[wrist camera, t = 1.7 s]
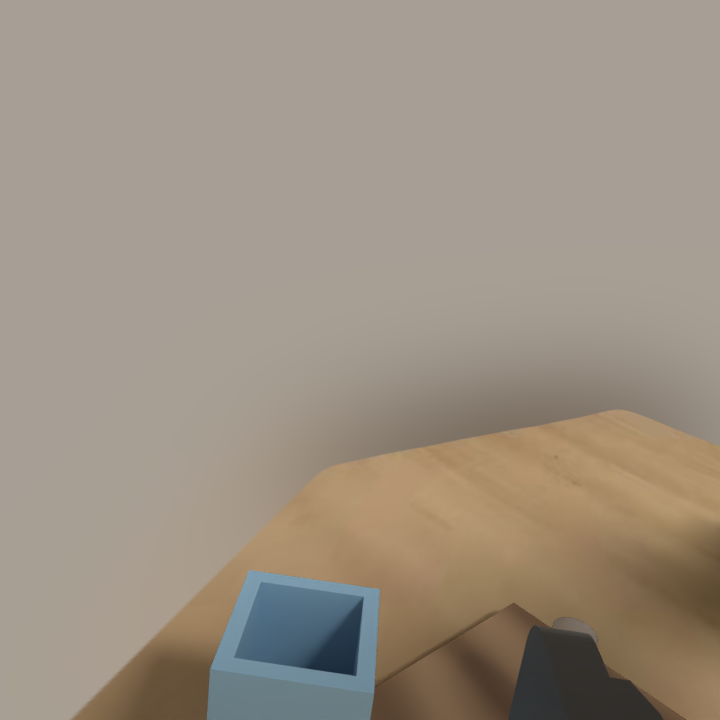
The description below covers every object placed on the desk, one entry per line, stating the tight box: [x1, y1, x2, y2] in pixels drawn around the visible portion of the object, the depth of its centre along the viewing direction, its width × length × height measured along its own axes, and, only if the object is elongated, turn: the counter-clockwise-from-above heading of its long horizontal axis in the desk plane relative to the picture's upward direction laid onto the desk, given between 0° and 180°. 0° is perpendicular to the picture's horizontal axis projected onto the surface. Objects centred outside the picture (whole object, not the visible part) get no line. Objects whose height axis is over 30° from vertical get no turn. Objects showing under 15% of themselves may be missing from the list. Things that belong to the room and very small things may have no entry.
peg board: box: [370, 603, 686, 720], centre depth 30 cm, size 14×14×8 cm
